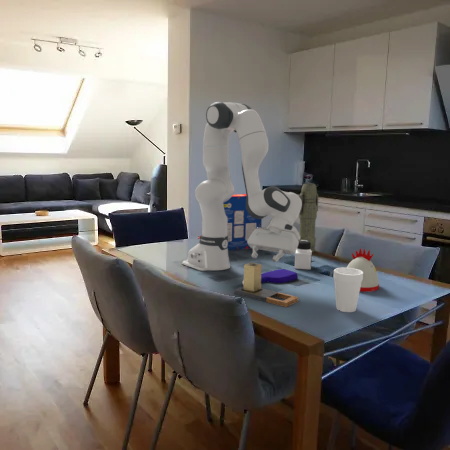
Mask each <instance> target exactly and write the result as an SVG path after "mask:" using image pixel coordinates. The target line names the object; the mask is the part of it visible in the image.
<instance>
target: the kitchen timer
mask: <svg viewBox="0 0 450 450" xmlns="http://www.w3.org/2000/svg"><path fill="white" fill-rule="evenodd" d="M354 252H355V255H354V253H353V252H352V253H351V256H352V258H353V259H352V260H351V261H350V262H349V263H348V265H347V266H346V267H345V268H354V269H358V270H361V271H362V272H363V280H362V282H361V287H360V292H369V293H370V292H375V291H377V290H379V287H380V280H379V276H378V273H377V269H376V267H375V265H374V264H373V262H372V261H371V259H372V258H373V257H374V253H372V254H371V249H369V250H367V253H366V249H365V248H364V249H363V252H362V248H360V249H359V251H358V250H355V251H354Z"/></svg>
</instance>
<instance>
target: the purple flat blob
mask: <svg viewBox="0 0 450 450" xmlns="http://www.w3.org/2000/svg"><path fill="white" fill-rule="evenodd" d="M298 278H299V276H298V273H297V272H296V271H292V270H289V269H285V268H280V269H279V268H278V269H275V270H270V271H265V272H263V273H262V272H261V284H264V283H270V284H285V283H289V282H293V281H296V280H298ZM242 285H243V286H244V279H243V280H242Z"/></svg>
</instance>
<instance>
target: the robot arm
mask: <svg viewBox="0 0 450 450" xmlns="http://www.w3.org/2000/svg"><path fill="white" fill-rule="evenodd" d="M205 116H206V117H205V119H206V122H207V123H206V124H205V127H204V134H203V140H202V141H203V142H202V151H203V152H202V166H203V168H205V172H206V178H207V180H203V181H202V182H200V183H199V184H198V185H197V186H196V188H195V190H194V196H195V199H196V201H197V202H198V204H199V208H200V212H201V218H202V219H201V220H202V221H201V227H202V228H201V229H202V230H201V231H202V232H201V233H202V234H201V235H200V236H197V240H199V243H197V244H196V245H195V246H193V247H191V248H190V249H189V250H188V253H187V259H184V260H183V261H182V263H181V264H182V265H184V266H186V267H189V268H193V269H195V270H197V271H200V272H201V271H202V272H203V271H204V272H205V271H224V270H228V269H230V268H231V267H232V266H231V262H230V258H229V251H228V235H227V224H228V219H227V216H226V214H225V211H224V206H223V202H226V201H228V200H229V199H230V198H231V197H232V196H233V195H235V194H234V193H235V185H234V184H233V182H232V179H231V171H230V164H229V163H230V162H229V159H230V156H229V155H230V135H231V133H232V132H234V133H236V134H237V138H238V141H239V147H240V151H241V152H240V153H241V172H242V177H243V182H244V187H245V188H244V189H245V194H246V209H247V212H248V213H249V215H250V216H252V217H253V218H255V219H261V220H262V219H264V218H266V217H267V216H268V215H270V216H271V219H270V221H269V223H268V225H267V227H263V226H261V227H259V228H256V229H255V230H254V231H253V233H252V234H251V235H250V237H249V238H248V240H247V243H248V245H249V246H250V247H251V248H250V249H252V253H251V254H250V255H251V257H252V258H253V259H257V257H258V256H259V254H258V251H259V250H262V251H267V252H274V253H277V254H276V255H273V257H272V261H273V262H274V263H278V262H279V260H280V259H281V258H282V257H284V255H295V252H296V250H297V247H298V244H299V241H298V240H299V239H300V234H299V230H298V229H297V227H296V226H294V224H295V222H296V221H297V219H298V217H299V213H300V210H301V207H302V201H301V199H300V197H299V195H298V194H297V193H295V192H292V191H289V192H288V191H283V190H281V189H280V188H279V187H278V186H275V185H271V186H268V187H266V188H264V189H262V188H261V181H260V177H259V176H260V175H259V169H260V166H261V164H262V162H263V160H264V159H265V157H266V155H267V154H268V151H269V148H270V147H269V146H270V145H269V138H268V135H267V131H266V128H265V126H264V123H263V121H262V119H261V116H260V114H259V113H258V112H257V111H256V110H255V109H253V108H252V107H251V106H249V105H247V104H244V103H239V102H235V101H234V102H232V101H230V102H229V101H227V102H223V101H216V102H213V103H211V104H209V106H208V107H207V109H206V113H205Z"/></svg>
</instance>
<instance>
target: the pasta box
mask: <svg viewBox="0 0 450 450" xmlns="http://www.w3.org/2000/svg"><path fill="white" fill-rule="evenodd" d="M223 206H224V211H225V214H226V216H227V219H228V224H227V235H228V252H229V251H237V250H239V251H240V250H247V249H248V250H249V249H252V248H251V247H250V246H249V245H248V243H247V240H248V238H249V237H250V235H251V234H252V233H253V231H254V230H255V229H256V228H259V227H262V219H255V218H253V217H252V216H250V215H249V213H248V212H247V209H246V193H244V194H243V193H242V194H241V193H239V194H233V196H232V197H231V198H230V199H229V200H228V201H226V202H223Z"/></svg>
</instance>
